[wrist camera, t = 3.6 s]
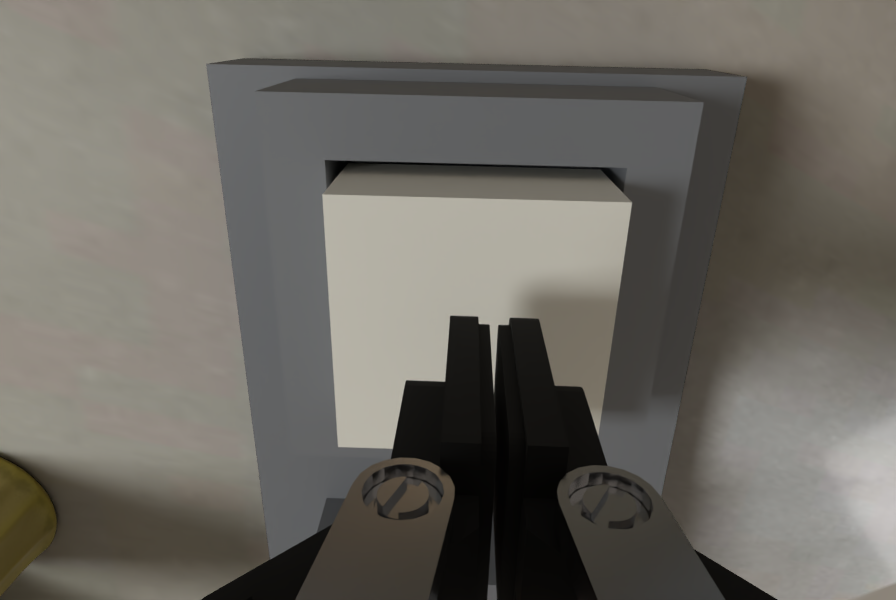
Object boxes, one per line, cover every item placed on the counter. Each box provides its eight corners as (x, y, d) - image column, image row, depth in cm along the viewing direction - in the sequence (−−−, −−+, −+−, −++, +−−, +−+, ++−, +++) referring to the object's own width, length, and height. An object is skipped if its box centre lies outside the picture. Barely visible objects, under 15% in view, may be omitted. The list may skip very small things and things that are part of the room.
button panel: (243, 58, 19) (142, 73, 13) (705, 69, 19) (819, 89, 13) (302, 615, 29) (260, 770, 23) (606, 625, 28) (644, 784, 22)
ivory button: (348, 163, 15) (322, 194, 12) (600, 169, 15) (632, 202, 12) (357, 379, 17) (337, 447, 14) (574, 386, 17) (595, 454, 14)
